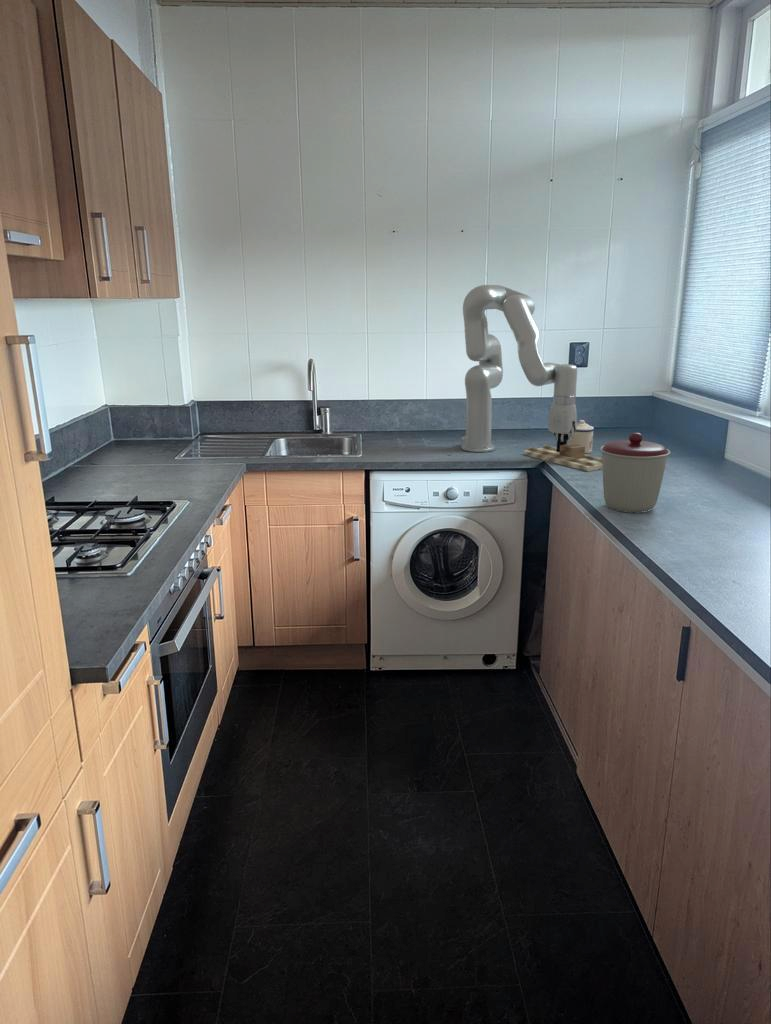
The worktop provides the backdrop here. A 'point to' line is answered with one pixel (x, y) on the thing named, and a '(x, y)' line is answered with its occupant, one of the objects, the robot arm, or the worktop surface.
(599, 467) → the birch rail board
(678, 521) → the worktop surface
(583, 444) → the teacup with lid
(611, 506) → the canister
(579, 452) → the walnut slider
